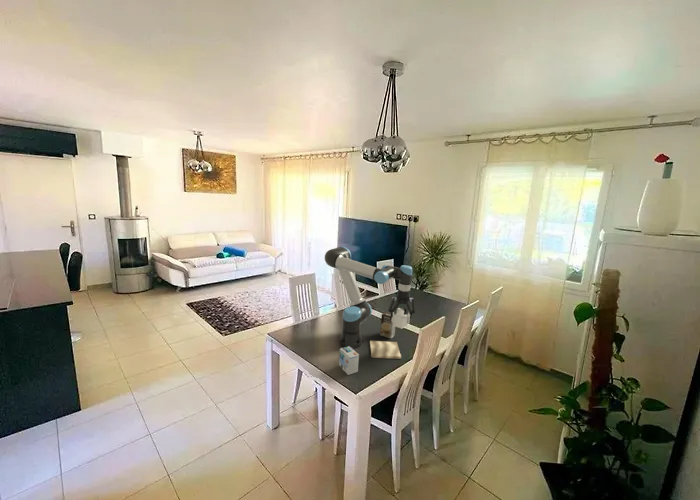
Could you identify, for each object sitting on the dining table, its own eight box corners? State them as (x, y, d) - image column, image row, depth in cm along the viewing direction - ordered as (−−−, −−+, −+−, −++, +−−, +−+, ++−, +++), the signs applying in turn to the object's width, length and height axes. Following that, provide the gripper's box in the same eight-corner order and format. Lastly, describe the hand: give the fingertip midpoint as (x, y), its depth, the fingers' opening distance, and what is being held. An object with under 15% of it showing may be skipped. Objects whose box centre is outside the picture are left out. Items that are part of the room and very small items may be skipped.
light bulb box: (338, 365, 171) (339, 348, 169) (348, 362, 175) (349, 345, 173) (348, 375, 163) (349, 357, 161) (358, 372, 166) (359, 354, 164)
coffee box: (379, 335, 211) (380, 314, 208) (383, 331, 216) (384, 311, 213) (391, 339, 206) (393, 317, 203) (394, 335, 211) (396, 314, 208)
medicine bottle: (397, 322, 199) (399, 305, 196) (407, 325, 194) (409, 308, 192) (392, 325, 193) (394, 308, 190) (402, 329, 189) (404, 311, 186)
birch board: (371, 357, 182) (371, 355, 181) (369, 342, 199) (370, 340, 199) (400, 358, 182) (401, 356, 181) (396, 344, 199) (396, 342, 199)
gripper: (387, 290, 185) (383, 324, 189) (423, 292, 186) (418, 325, 190) (385, 286, 192) (382, 318, 196) (419, 288, 193) (415, 320, 197)
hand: (400, 322), depth 193 cm, fingers closed on medicine bottle, 10 cm apart
